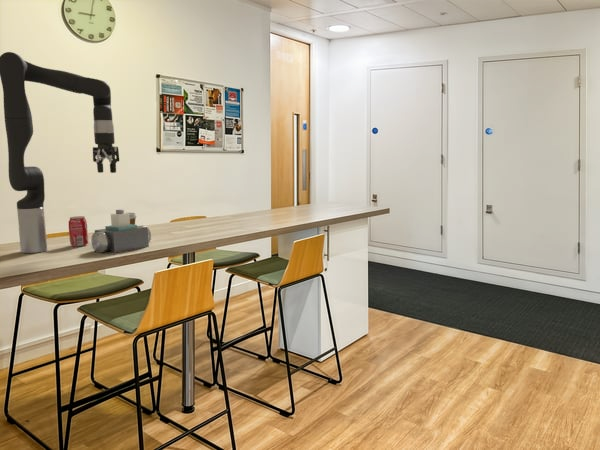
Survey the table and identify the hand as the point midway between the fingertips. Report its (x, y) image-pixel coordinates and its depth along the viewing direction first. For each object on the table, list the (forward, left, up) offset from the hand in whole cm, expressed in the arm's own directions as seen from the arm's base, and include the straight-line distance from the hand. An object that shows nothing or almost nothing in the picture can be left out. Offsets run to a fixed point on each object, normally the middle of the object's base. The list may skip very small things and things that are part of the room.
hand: (106, 172), depth 208 cm
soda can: (-12, -7, -30) cm, 33 cm away
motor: (+10, -2, -30) cm, 32 cm away
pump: (+10, -2, -22) cm, 24 cm away
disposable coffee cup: (-4, +10, -30) cm, 32 cm away
